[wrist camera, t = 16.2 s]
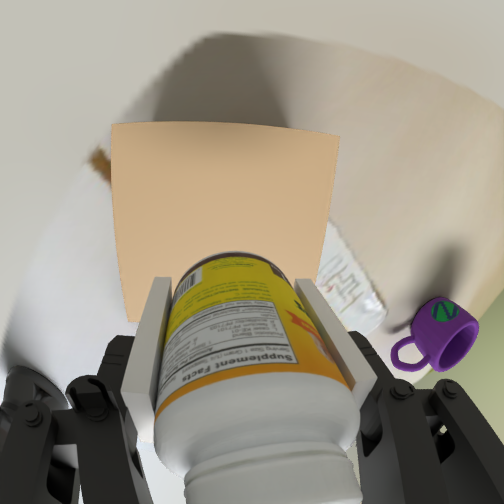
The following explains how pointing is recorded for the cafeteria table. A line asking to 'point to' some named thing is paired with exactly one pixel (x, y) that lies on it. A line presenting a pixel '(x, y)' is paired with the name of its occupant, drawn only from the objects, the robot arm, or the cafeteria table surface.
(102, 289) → the cafeteria table surface
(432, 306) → the mug
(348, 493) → the supplement bottle
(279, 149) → the lid
